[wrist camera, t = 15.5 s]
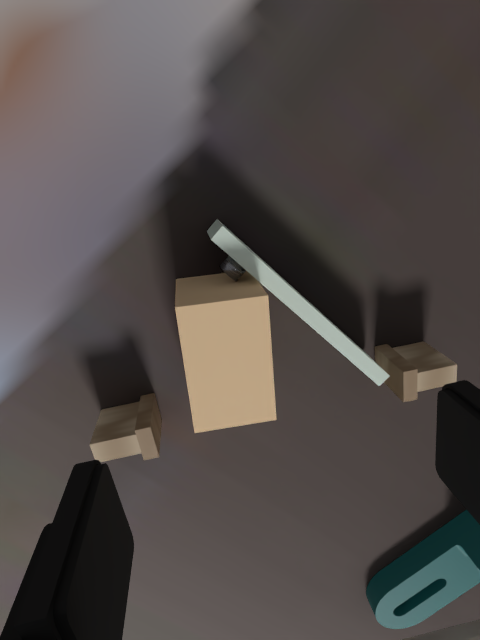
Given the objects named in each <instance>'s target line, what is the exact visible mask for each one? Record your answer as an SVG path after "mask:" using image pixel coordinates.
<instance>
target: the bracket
mask: <svg viewBox="0 0 480 640" xmlns="http://www.w3.org/2000/svg"><path fill="white" fill-rule="evenodd" d="M478 583H480V525H479V523H478V522H477V521H476V520H475V519H474V518H473V516H472V515H471V514H470V513H469V512H468V510H465V511H464V512H462V513H461V514H459V515H458V516H457V517H455V518H454V519H452V520H451V521H450V522H448V523H447V524H445V525H444V526H443V527H441V528H440V529H438V530H437V531H435V532H434V533H433V534H431V535H430V536H428V537H427V538H426V539H424V540H423V541H421V542H420V543H418V544H417V545H416V546H414V547H413V548H411V549H410V550H409V551H407V552H406V553H404V554H403V555H402V556H400V557H399V558H397V559H396V560H394V561H393V562H392V563H390V564H389V565H387V566H386V567H385V568H383V569H382V570H380V571H379V572H378V573H377V574H376V575H375V576H374V577H373V578H372V579H371V580H370V582H369V584H368V586H367V590H366V595H367V598H368V601H369V603H370V605H371V608H372V610H373V612H374V614H375V617H376V619H377V621H378V622H379V623H380V624H381V625H382V626H384V627H387V628H391V629H402V628H407V627H411V626H413V625H416V624H418V623H420V622H422V621H423V620H425V619H426V618H428V617H429V616H431V615H432V614H434V613H435V612H437V611H438V610H440V609H441V608H443V607H444V606H446V605H447V604H449V603H450V602H451V601H453V600H454V599H456V598H457V597H459V596H460V595H462V594H463V593H465V592H466V591H468V590H469V589H471V588H472V587H474V586H475V585H477V584H478Z"/></svg>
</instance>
